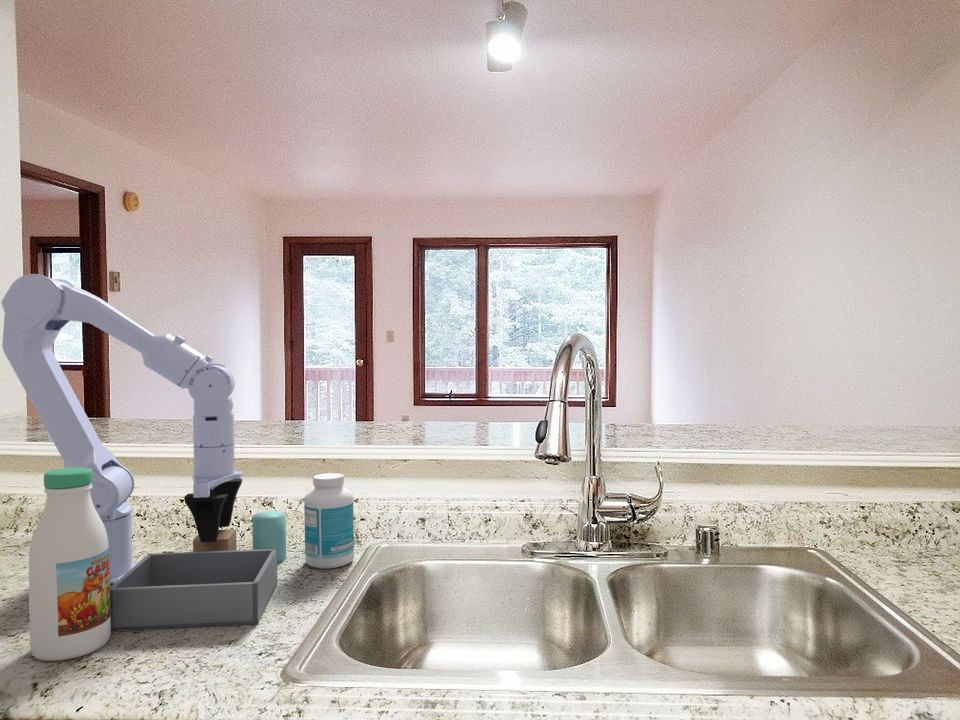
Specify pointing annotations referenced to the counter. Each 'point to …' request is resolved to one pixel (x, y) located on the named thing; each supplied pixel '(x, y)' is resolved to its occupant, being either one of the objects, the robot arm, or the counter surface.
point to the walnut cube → (217, 542)
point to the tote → (194, 590)
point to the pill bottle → (329, 523)
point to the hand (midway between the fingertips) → (215, 533)
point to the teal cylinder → (270, 532)
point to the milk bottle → (69, 571)
